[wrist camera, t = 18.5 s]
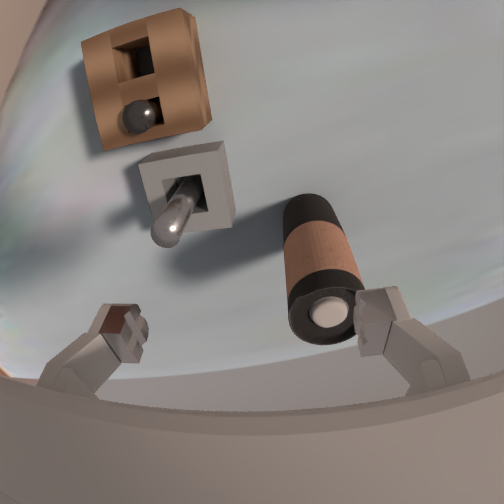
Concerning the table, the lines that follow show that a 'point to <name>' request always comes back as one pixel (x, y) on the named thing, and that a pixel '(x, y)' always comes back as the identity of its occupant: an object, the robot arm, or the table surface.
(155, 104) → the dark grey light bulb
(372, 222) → the table surface
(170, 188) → the grey square ring block
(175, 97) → the socket block
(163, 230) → the grey tapered rounded rod
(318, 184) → the table surface
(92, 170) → the table surface
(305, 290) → the travel mug
